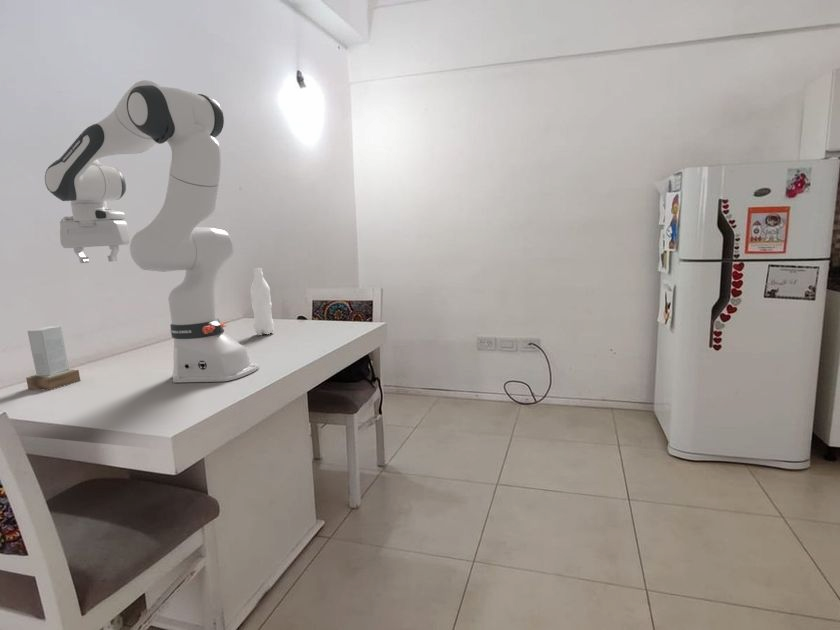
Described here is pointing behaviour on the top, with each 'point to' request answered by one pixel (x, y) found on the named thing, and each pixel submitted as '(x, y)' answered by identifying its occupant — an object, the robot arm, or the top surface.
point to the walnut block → (53, 380)
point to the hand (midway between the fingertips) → (98, 262)
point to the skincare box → (48, 350)
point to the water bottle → (261, 304)
